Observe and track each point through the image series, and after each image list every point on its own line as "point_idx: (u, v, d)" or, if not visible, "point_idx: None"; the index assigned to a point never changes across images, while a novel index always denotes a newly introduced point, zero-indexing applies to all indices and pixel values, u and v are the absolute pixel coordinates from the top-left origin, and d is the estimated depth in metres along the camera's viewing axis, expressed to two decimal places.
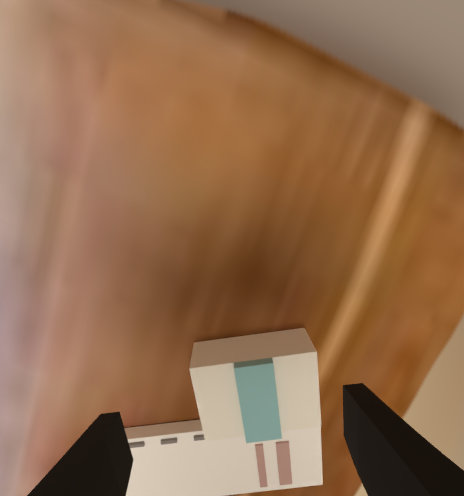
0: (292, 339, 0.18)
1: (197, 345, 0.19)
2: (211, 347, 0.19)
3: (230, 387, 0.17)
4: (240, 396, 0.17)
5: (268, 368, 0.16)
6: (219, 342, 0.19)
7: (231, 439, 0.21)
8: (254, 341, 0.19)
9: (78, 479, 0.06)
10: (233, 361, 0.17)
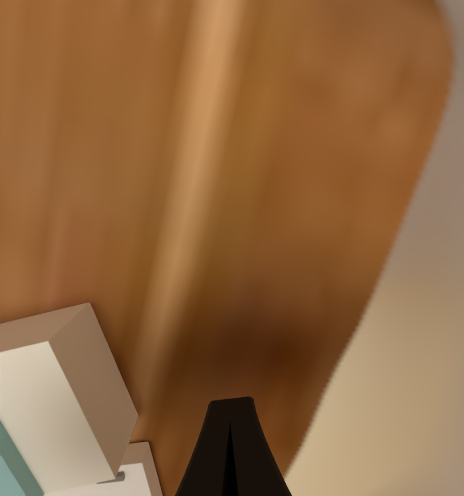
0: (44, 323, 0.10)
1: None
2: None
3: None
4: None
5: None
6: None
7: None
8: None
9: (225, 462, 0.06)
10: None
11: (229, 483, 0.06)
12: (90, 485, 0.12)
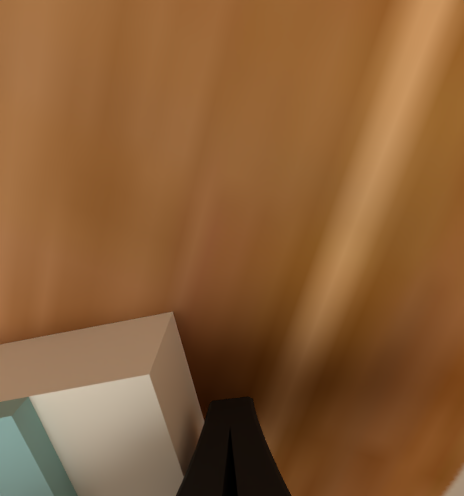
0: (123, 343, 0.07)
1: None
2: None
3: None
4: None
5: (2, 431, 0.06)
6: None
7: None
8: (43, 351, 0.08)
9: (226, 462, 0.06)
10: None
11: (230, 483, 0.06)
12: None
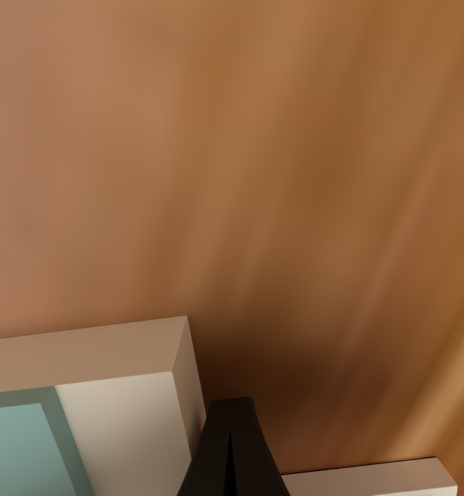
0: (142, 339, 0.08)
1: None
2: None
3: None
4: None
5: (30, 417, 0.06)
6: None
7: None
8: (62, 342, 0.08)
9: (226, 462, 0.06)
10: None
11: (230, 483, 0.06)
12: None
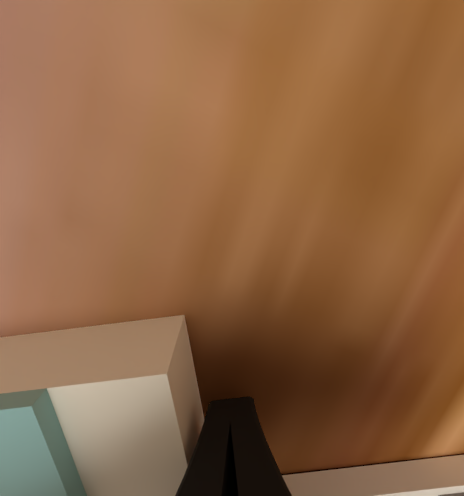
0: (138, 340, 0.08)
1: None
2: None
3: None
4: None
5: (21, 421, 0.06)
6: None
7: None
8: (56, 343, 0.08)
9: (225, 462, 0.06)
10: None
11: (229, 483, 0.06)
12: None
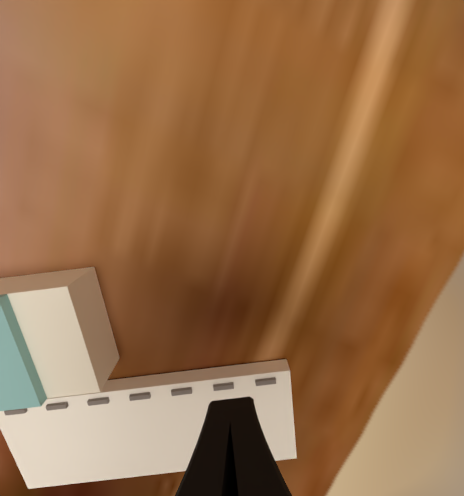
0: (61, 277, 0.14)
1: None
2: None
3: None
4: None
5: None
6: None
7: (178, 399, 0.16)
8: (17, 280, 0.14)
9: (225, 462, 0.06)
10: None
11: (229, 483, 0.06)
12: (248, 388, 0.16)
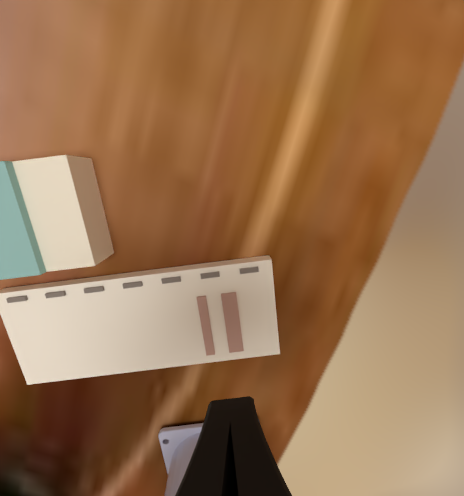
0: None
1: None
2: None
3: None
4: None
5: None
6: None
7: (168, 289, 0.18)
8: None
9: (225, 462, 0.06)
10: None
11: (229, 483, 0.06)
12: (233, 278, 0.17)
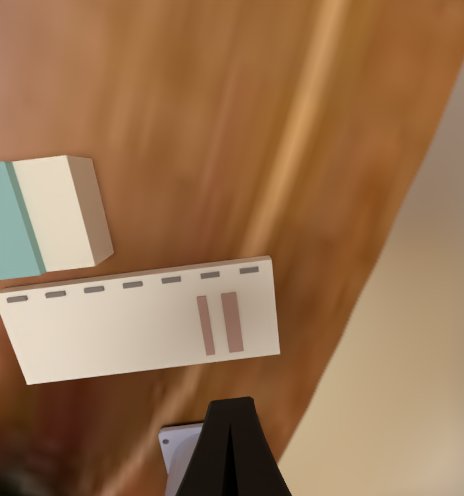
0: None
1: None
2: None
3: None
4: None
5: None
6: None
7: (168, 289, 0.18)
8: None
9: (225, 462, 0.06)
10: None
11: (229, 483, 0.06)
12: (233, 278, 0.17)
